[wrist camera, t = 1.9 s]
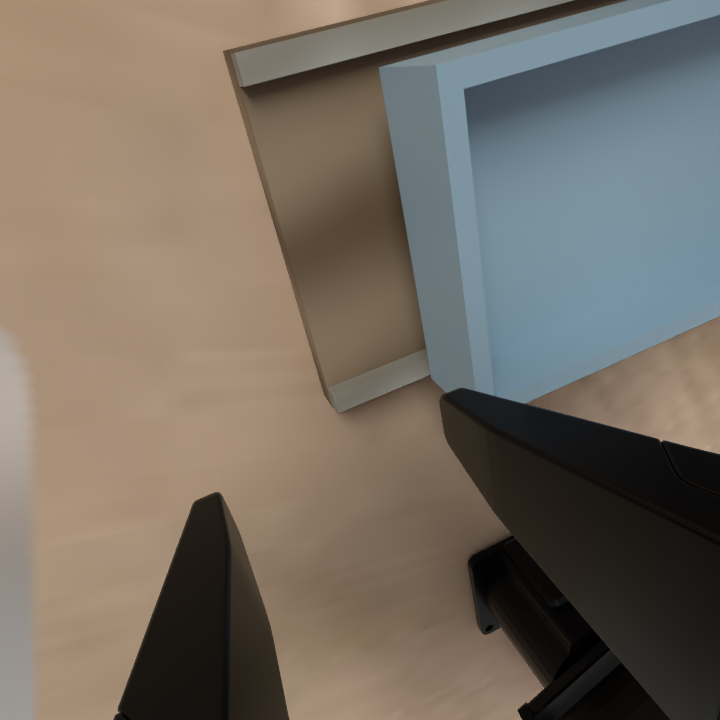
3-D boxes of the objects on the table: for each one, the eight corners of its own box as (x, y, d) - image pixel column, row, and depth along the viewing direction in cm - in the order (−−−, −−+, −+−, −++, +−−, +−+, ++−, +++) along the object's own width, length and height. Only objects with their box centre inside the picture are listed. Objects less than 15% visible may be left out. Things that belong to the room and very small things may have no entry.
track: (851, 181, 28) (888, 186, 27) (324, 395, 22) (338, 415, 20) (926, -122, 22) (978, -135, 21) (222, 50, 16) (233, 48, 14)
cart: (726, 226, 24) (852, 256, 20) (405, 355, 21) (479, 423, 17) (762, -42, 19) (939, -74, 15) (350, 68, 16) (435, 65, 12)
